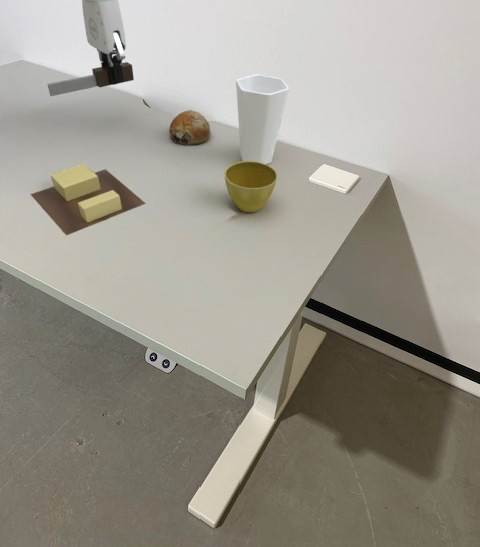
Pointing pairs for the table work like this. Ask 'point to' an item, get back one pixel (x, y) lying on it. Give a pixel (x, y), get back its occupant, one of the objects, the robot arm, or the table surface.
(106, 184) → the board
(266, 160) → the cup
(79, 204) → the butter slice
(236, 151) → the table surface
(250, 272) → the table surface
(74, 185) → the butter block
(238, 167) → the flower pot
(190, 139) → the bread roll
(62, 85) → the knife
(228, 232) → the table surface
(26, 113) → the table surface
